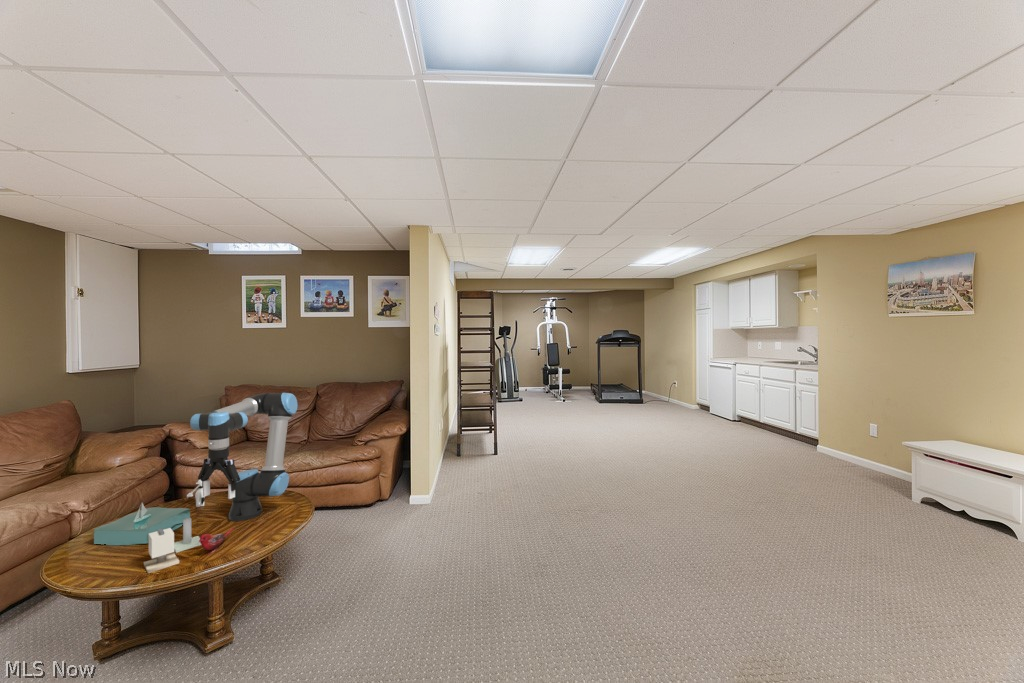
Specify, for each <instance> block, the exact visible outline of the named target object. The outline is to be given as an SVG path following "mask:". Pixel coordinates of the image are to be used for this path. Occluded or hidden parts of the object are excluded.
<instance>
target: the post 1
mask: <svg viewBox="0 0 1024 683" xmlns="http://www.w3.org/2000/svg"><path fill="white" fill-rule="evenodd" d="M178 564H180V559H179V558H178V556H177V555H176V553H175V552H172V553H169V554H166V555H162V556H159V557H156V558H151V559H150V560H147V561H146V560H145V561H143V566H144V568H145V570H146V573H147V574H150V573H153V572H157V571H160V570H164V569H165V568H169V567H172V566H176V565H178Z"/></svg>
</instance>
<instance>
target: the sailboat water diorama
mask: <svg viewBox="0 0 1024 683" xmlns="http://www.w3.org/2000/svg"><path fill="white" fill-rule="evenodd" d="M186 518H191V508H185V507H172V508H171V507H160V506H156V507H155V506H153V507H152V506H151V507H145V505H144V503H143V502H141V504H140V505H139V508H138V510H137V511H135V512H131V513H129V514H127V515H125V516H122V517H120V518H119V519H115V520H114V521H111V522H110V523H106V524H102V525H100V526H98V527H96V528H95V529H93V545H94V544H101V545H104V544H106V545H105V546H132V545H140V544H141V545H142V544H145V545H146V544H147V545H148V544H149V533H153V532H156V531H158V529H163V530H164V529H168V528H171V529H172V531H173V532H174V531H175V530H178V529H179V528H181V527H183V526H182V525H183V520H184V519H186Z"/></svg>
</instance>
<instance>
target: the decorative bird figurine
mask: <svg viewBox="0 0 1024 683" xmlns="http://www.w3.org/2000/svg"><path fill="white" fill-rule="evenodd" d="M234 530H235V527H233V528H232V529H229V531H227V532H226V533H217V534H212V535H211V534H209V533H204V534H202V535H201V536H199V538H200V540H199V542H200V543H201V545H200V546H202V548H203V549H204V550H206V551H210V552H208V555H210V554H213V553H214V552H216V551H217V550H218V547H219V546H221V544H222V543H223V542H224V541H225V540H226V538H227V536H228V535H230V534H231V532H232V531H234Z"/></svg>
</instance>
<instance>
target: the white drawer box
mask: <svg viewBox="0 0 1024 683" xmlns="http://www.w3.org/2000/svg"><path fill="white" fill-rule="evenodd" d="M174 543H175V532H174V530H173V531H172V529H171V528H168V529H164V530H163V529H158V531H156V532H153V533H149V543H148V554H149V556H150V558H151V559H156V558H157V557H159V556H162V555H169V554H172V553H175V550H174Z"/></svg>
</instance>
